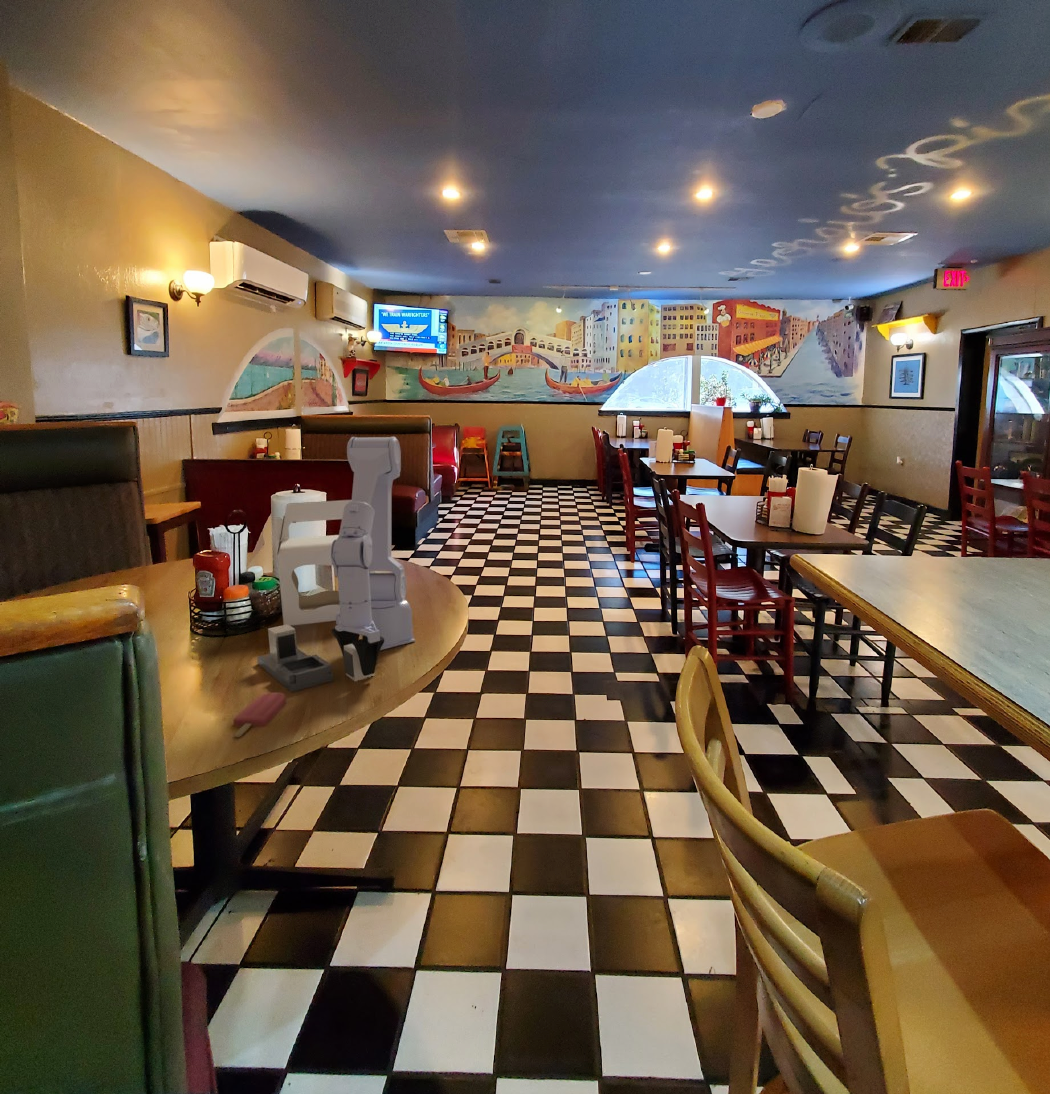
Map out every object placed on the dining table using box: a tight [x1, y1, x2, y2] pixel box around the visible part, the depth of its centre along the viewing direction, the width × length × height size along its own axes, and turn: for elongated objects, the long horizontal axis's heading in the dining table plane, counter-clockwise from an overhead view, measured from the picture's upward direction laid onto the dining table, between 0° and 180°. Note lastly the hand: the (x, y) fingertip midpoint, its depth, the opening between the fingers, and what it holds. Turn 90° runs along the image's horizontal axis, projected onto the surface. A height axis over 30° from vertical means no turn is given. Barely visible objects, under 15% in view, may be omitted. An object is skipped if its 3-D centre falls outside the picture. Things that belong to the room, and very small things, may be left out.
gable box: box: [274, 499, 376, 627], centre depth 167 cm, size 22×13×28 cm, turn 109°
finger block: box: [343, 644, 376, 682], centre depth 130 cm, size 4×4×6 cm
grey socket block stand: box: [256, 624, 334, 693], centre depth 132 cm, size 8×18×8 cm, turn 39°
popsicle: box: [233, 692, 287, 738], centre depth 114 cm, size 5×2×15 cm
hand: (359, 668), depth 131 cm, fingers open, 7 cm apart
